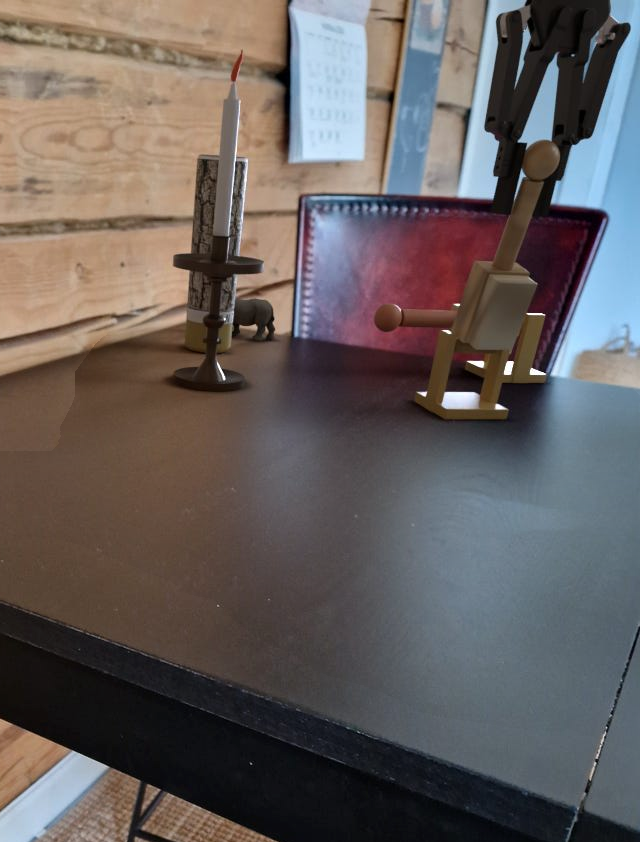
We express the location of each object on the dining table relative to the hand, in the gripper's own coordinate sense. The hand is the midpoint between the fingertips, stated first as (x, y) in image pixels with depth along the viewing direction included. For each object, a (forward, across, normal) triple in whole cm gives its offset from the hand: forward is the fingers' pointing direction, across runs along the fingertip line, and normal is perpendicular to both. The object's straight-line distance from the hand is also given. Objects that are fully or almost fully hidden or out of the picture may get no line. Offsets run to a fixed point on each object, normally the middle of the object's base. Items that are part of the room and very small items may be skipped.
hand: (518, 214), depth 90 cm
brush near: (+5, 0, +3) cm, 6 cm away
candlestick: (+22, +28, -16) cm, 39 cm away
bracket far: (+21, -17, -21) cm, 34 cm away
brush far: (+18, -7, -21) cm, 28 cm away
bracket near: (+22, 0, -3) cm, 22 cm away
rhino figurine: (+22, +16, -47) cm, 54 cm away
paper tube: (+22, +23, -36) cm, 48 cm away
